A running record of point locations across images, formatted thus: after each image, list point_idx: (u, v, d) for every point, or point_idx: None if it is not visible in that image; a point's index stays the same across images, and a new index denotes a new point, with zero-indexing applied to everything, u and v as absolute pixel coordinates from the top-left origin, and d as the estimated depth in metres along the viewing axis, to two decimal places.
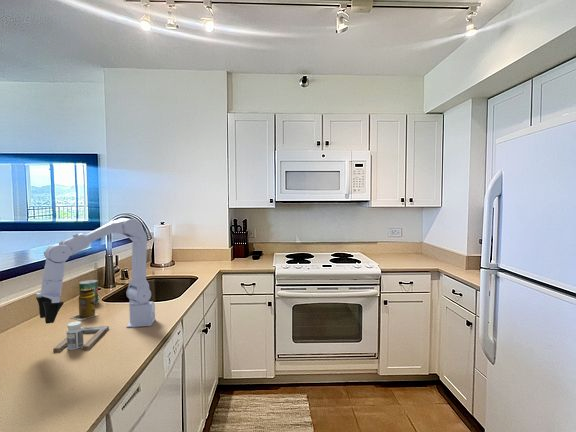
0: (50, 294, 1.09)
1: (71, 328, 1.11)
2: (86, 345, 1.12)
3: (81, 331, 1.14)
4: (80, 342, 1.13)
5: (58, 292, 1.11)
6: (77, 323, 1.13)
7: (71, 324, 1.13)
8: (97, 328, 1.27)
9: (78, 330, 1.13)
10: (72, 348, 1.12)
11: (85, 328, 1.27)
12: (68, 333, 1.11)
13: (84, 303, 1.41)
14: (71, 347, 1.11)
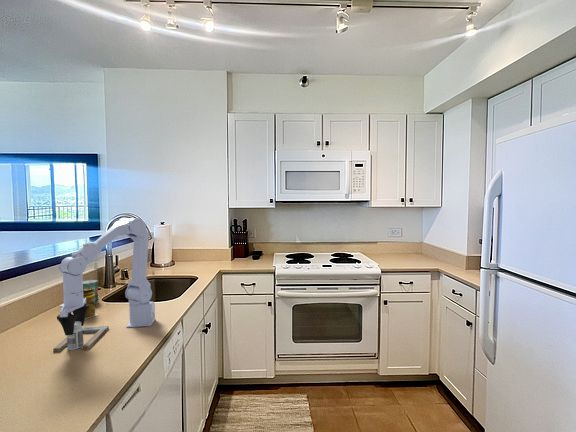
0: (67, 307, 1.10)
1: None
2: (86, 345, 1.12)
3: (81, 331, 1.14)
4: (80, 342, 1.13)
5: (75, 304, 1.11)
6: (77, 323, 1.13)
7: None
8: (97, 328, 1.27)
9: (78, 330, 1.13)
10: (72, 348, 1.12)
11: (85, 328, 1.27)
12: None
13: None
14: (71, 347, 1.11)
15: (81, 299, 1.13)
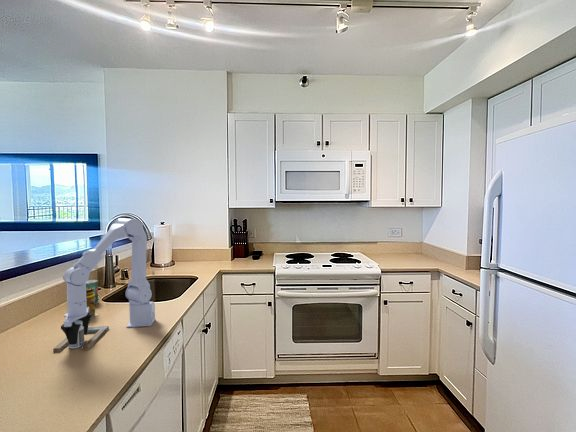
0: (71, 316, 1.13)
1: None
2: (86, 345, 1.12)
3: (82, 330, 1.14)
4: (81, 341, 1.14)
5: (79, 314, 1.13)
6: (78, 322, 1.14)
7: None
8: (97, 328, 1.27)
9: (79, 329, 1.13)
10: (73, 347, 1.12)
11: None
12: None
13: None
14: (72, 345, 1.12)
15: (84, 308, 1.15)
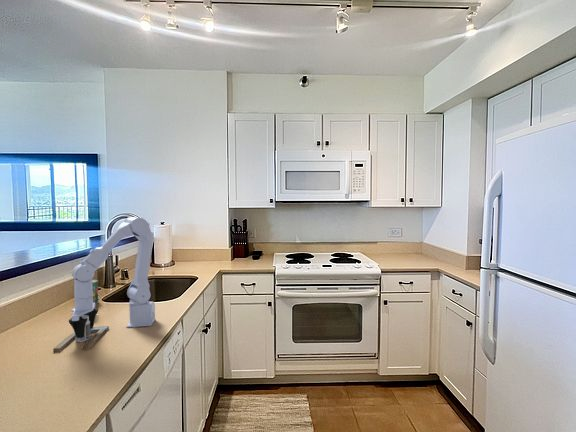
0: (78, 311, 1.18)
1: None
2: (86, 345, 1.12)
3: (89, 324, 1.20)
4: (87, 334, 1.19)
5: (85, 309, 1.19)
6: (85, 316, 1.20)
7: None
8: (97, 328, 1.27)
9: (86, 323, 1.19)
10: (80, 340, 1.18)
11: None
12: None
13: None
14: (79, 339, 1.18)
15: (91, 304, 1.20)
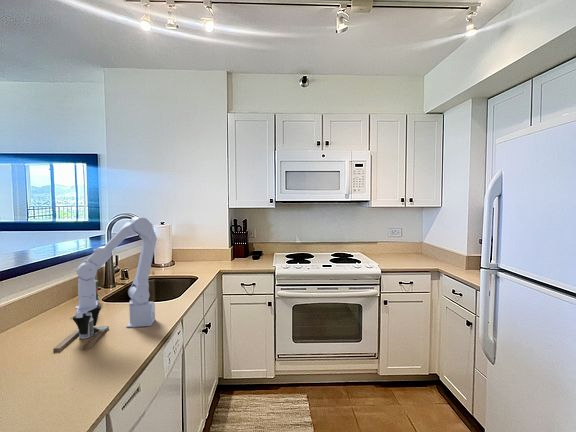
0: (82, 308, 1.21)
1: None
2: (86, 345, 1.12)
3: (92, 321, 1.23)
4: (91, 331, 1.22)
5: (89, 306, 1.22)
6: (88, 314, 1.23)
7: None
8: (97, 328, 1.27)
9: (89, 320, 1.22)
10: (84, 337, 1.21)
11: None
12: None
13: None
14: (83, 336, 1.21)
15: (94, 301, 1.23)
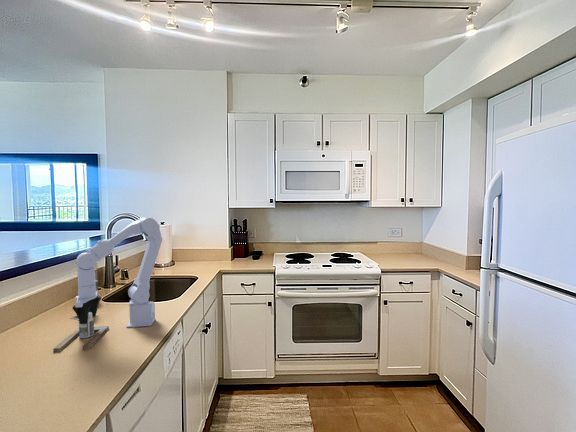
0: (81, 298, 1.21)
1: None
2: (86, 345, 1.12)
3: (92, 321, 1.23)
4: (91, 331, 1.22)
5: (89, 296, 1.21)
6: None
7: None
8: (97, 328, 1.27)
9: (90, 320, 1.22)
10: (84, 336, 1.21)
11: None
12: None
13: None
14: (83, 335, 1.21)
15: (94, 291, 1.23)
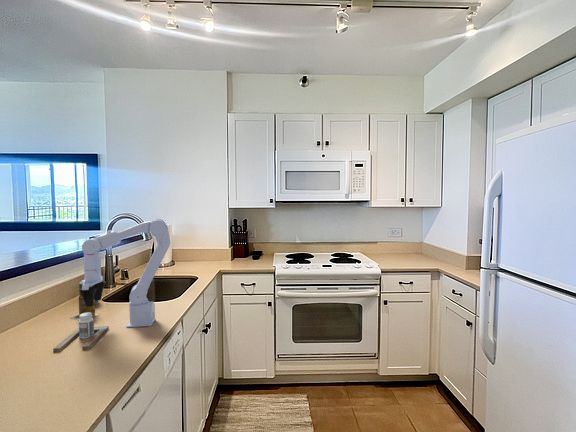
0: (87, 282, 1.26)
1: (83, 318, 1.21)
2: (86, 345, 1.12)
3: (92, 321, 1.23)
4: (91, 331, 1.22)
5: (94, 280, 1.27)
6: (88, 314, 1.23)
7: (83, 315, 1.22)
8: (97, 328, 1.27)
9: (89, 320, 1.22)
10: (84, 337, 1.21)
11: None
12: (80, 323, 1.20)
13: (84, 303, 1.41)
14: (83, 336, 1.21)
15: (99, 275, 1.28)
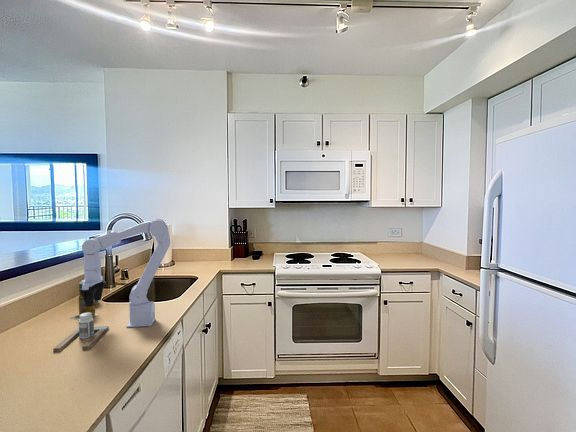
0: (87, 282, 1.26)
1: (83, 318, 1.21)
2: (86, 345, 1.12)
3: (92, 321, 1.23)
4: (91, 331, 1.22)
5: (94, 280, 1.27)
6: (88, 314, 1.23)
7: (83, 315, 1.22)
8: (97, 328, 1.27)
9: (89, 320, 1.22)
10: (84, 337, 1.21)
11: None
12: (80, 323, 1.20)
13: (84, 303, 1.41)
14: (83, 336, 1.21)
15: (99, 275, 1.28)
